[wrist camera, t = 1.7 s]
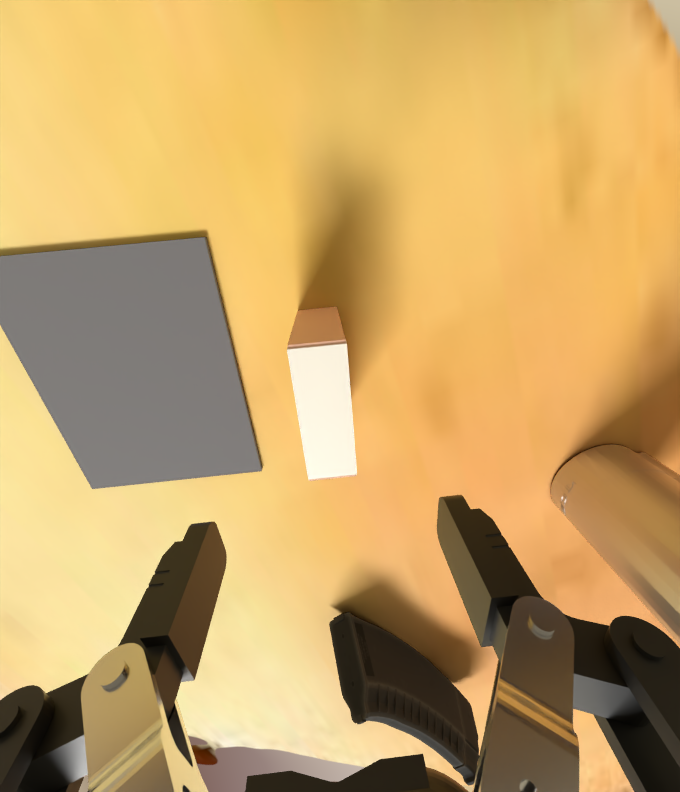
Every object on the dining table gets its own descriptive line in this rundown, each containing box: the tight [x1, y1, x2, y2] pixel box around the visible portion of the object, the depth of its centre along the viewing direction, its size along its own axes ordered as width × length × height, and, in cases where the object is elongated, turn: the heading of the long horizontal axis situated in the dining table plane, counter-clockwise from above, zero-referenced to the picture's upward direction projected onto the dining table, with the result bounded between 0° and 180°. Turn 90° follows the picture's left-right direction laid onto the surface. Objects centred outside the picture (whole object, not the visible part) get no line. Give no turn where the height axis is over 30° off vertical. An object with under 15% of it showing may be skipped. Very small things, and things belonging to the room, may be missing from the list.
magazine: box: [329, 612, 479, 785], centre depth 42 cm, size 17×3×30 cm
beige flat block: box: [287, 307, 357, 481], centre depth 22 cm, size 3×9×9 cm, turn 5°
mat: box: [0, 237, 262, 489], centre depth 26 cm, size 16×20×1 cm
